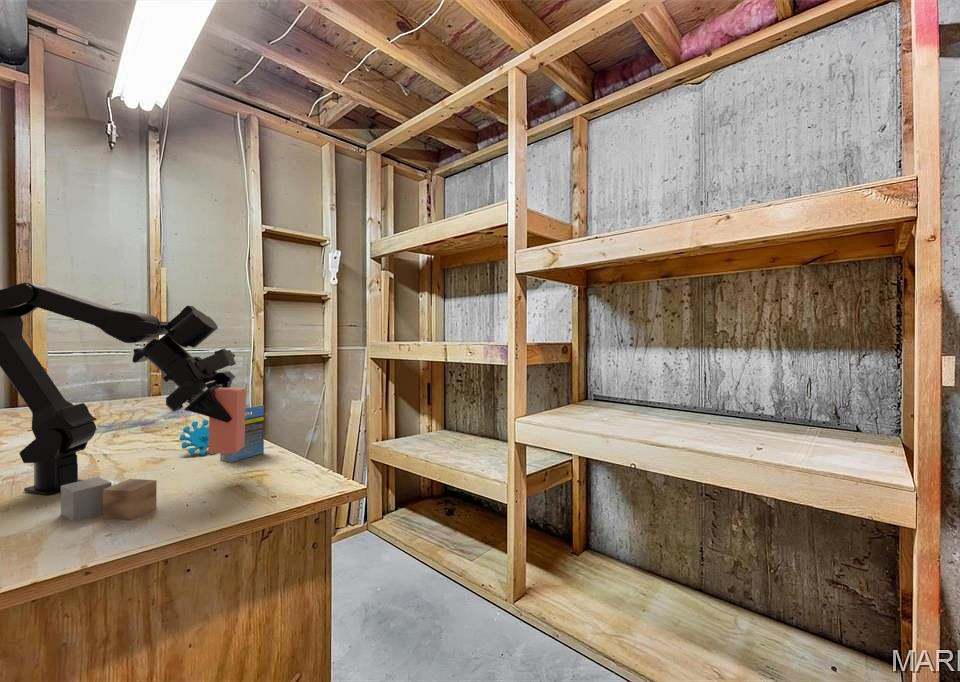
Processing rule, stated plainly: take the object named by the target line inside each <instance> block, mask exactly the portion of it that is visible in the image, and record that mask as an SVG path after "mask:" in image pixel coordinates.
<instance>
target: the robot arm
mask: <svg viewBox="0 0 960 682" xmlns="http://www.w3.org/2000/svg"><path fill="white" fill-rule="evenodd" d="M37 309H41V310H45V311H48V312H50V313H54V314H57V315H60V316H62V317H63V316H64V317H66V318H69V319H73V320H76V321H80V322H82V323H85V324H88V325H92V326H94V327H96V328H98V329H100V330H101V331H102V332H103V333H104V334H106V335H108V336H110V337H112V338H114V339H116V340H118V341H120V342H122V343H126V344H137V343H147V344H145V345H144V346H143V347H142V348H134V349H133V356H132V363H135V364H136V363H142V362H146V361H147V360H148V361H149V362H150V363H152V365H153V366H155V367H156V368H157V369H158V370H159V371H160V372H161V373H162V374H163V375H164V376H163V378H162V380H163V381H165V382H166V383H168V382H172V383H173V384H174V385H175V386H176V387H177V388H176V389H175V390H174V391H172V392H171V393H170V394H169V395H168V396H167V397H166V398H165V405H166V407H167V408H169V409H170V410H171V411H172V412H173V413H175V412H177V411H180V410H182V409H183V408H184V406H183V405H184V404H186V403H188V405H187V406H186V407H185V408H184V411H185V412H191V413H192V412H193V413H195V414H199V415H202V416H206V417H208V418H209V417H211V418H214V419H217V420H220V421H224V422H227V423H228V422H230V421H231V420H232V418H231V416H230V415H229V414H228V412H227V411H226V410H225V409H224V407H223V406H222V405H221V404H220V403H219V401H218V400H217V399H216V397H215V389H218V388H232V384H233V380H235V379H236V376H235V375H234V374H233V373H232V372H231V371H230V370H222V369H224V368H226V367H231V366H234V365H237V362H236V361H235V357H236V355H235V353H233V352H232V351H231V350H229V349H226V348H221V349H219V350H215V351H214V354H211V355H209V356H206V357H203V358H201V356H192V355H191V354H190V353H189V352H188V351H187V350H186V349H185V348H189V347H190V348H194V349H195V348H197V347H199V345H200V344H202V343H203V342H204V341H205V340H206V339H207V338H209V337H210V336H211V335H212V334H213V333H214V332H216V331H217V330H218V328H219V327H218V325H217V323H216V322H215V321H214V320H213V319H212V318H211V316H208V315H206V314H205V313H203V312H202V311H201V310H198V309H196V307H194V305H186V306H185V307H184V308H183V309H182V310H180V313H179V314H177V315H176V316H175V317H173V318H172V319H171V320H170V321H160V319H159V317H157V316H155V315H153V314H150V313H143V312H138V311H133V310H132V311H131V310H126V309H125V310H124V309H116V308H111V307H109V306H105V305H103V304H99V303H96V302H93V301H90V300H88V299H85V298H82V297H81V298H80V297H78V296H76V295H73V294H72V295H71V294H69V293H67V292H62V291H60V290H56V289H53V288H50V287H49V286H48V285H46V284H40V283H34V282H33V283H31V282H21V283H17V284H14V285H12V286H9V287H7V288H3V289H0V368H1V370H2V372H3V373H4V374H5V375H6V377H7V378H8V380H9V381H10V383H11V385H12V386H13V387H14V389H15V390H16V392H17V393H18V394H19V396H20V397H21V398H22V400H23V402H24V403H25V404H26V406H27V408H29V410H30V411H31V415H32V419H31V431H32V433H33V435H34V438H35V439H33V440H32V441H31V442H30V443H28V445H26V446H25V447H24V448H23V449H22V450H21V451H20V452H19V456H20V459H21V461H22V462H23V464H33V478H34V479H33V484H34V485H32V486H31V485H30V486H27V487H24V488H23V491H24V492H28V493H33V494H39V495H45V496H47V495H52V494H55V493H59V492H61V486H62V485H66V484H70V483H74V482H79V481H83V480H84V479H80V478H79V464H78V454H77V452H80V451H84V450H85V449H86V448H87V445H88V443H89V441H90V440H92V439H93V437H94V436H95V433H96V432H97V426H96V423H95V421H97V418H96V417H94V416H93V415H92V414H91V413H90V410H89V408H88V406H87V405H86V403H83V402H82V403H78V404H73V403H71V402H70V401H68V400H66V398H64V396H63V394H62V392H61V391H60V390H59V389H58V387H57V386H56V385H55V383H54V381H53V379H52V378H51V377H50V376H49V374H48V373H47V371H46V370H45V368H44V367H43V365H42V364H41V362H40V361H39V359H38V358H37V356H36V355H35V353H34V352H33V351H32V349H31V348H30V346H29V344H28V343H27V342H26V340H25V338H24V336H23V330H24V329H23V328H24V321H23V317H25V316H28V315H30V314H32V313H33V312H35V311H36V310H37ZM160 336H161V337H160ZM159 337H160V338H159ZM220 370H222V371H220ZM217 371H220V372H217Z"/></svg>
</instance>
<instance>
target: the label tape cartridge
mask: <svg viewBox="0 0 960 682" xmlns="http://www.w3.org/2000/svg"><path fill="white" fill-rule="evenodd" d="M264 410H265V405H258V406H253V407H252V406H251V407H245V445H244V447H243V448H242V449H240V450H239V451H238V452H237V453H219V455H220V461H221V460H222V461H221V462H225V461H226V463H229V462H231V463H235V462H237V460H238V461H241V460H244V459H247V458H250V457H254V456H258V455H262V454H264V453H265V451H264V450H265V449H264V448H265V447H264V446H265V444H264V443H265V434H264V433H265V427H264V425H265V415H264V414H265V412H264ZM247 412H248V413H251V414H247V415H246V413H247Z"/></svg>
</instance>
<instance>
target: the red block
mask: <svg viewBox="0 0 960 682" xmlns="http://www.w3.org/2000/svg"><path fill="white" fill-rule="evenodd" d="M246 390H247V388H246V387H230V388H218V389H215V397H216V399H217V400H218V401H219V403H220V404H221V405H222V406H223V407H224V409H225V410H226V411H227V412H228V414H229V415H230V416H231V418H232V420H231V421H230V422H228V423H227V422H224V421H220V420H217V419H214V418H211V417H208V421H209V423H208V427H209V447H208V454H211V453H213V454H220V453H237V452H238V451H239V450H240V449H242V448H243V447H244V445H245V415H246V413H245V408H246V402H247V400H246V397H247V391H246Z"/></svg>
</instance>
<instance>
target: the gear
mask: <svg viewBox="0 0 960 682" xmlns="http://www.w3.org/2000/svg"><path fill="white" fill-rule="evenodd" d="M198 425H199V422H198V421H192V422H191V426H192V428H193V430H192V431H191V430H190V427H189V426H184V427H183V428H182V431H183V433H182V434H180V436H179V440H180V441H183V442H181V448H182V449H186V448H188V447H191V448H189V449H188V451H187V452H188V454H190V455H193V454H195V452H196V451H197V450H199V451H198V456H201V457H204V456H205V455H206V450H207V449H209V419H203V420H202V424H201V426H200V427H198ZM207 425H208V426H207ZM185 433H186V434H188V435H189V436H187V435H186V434H185ZM211 454H212V455H213V454H214V453H211Z"/></svg>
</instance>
